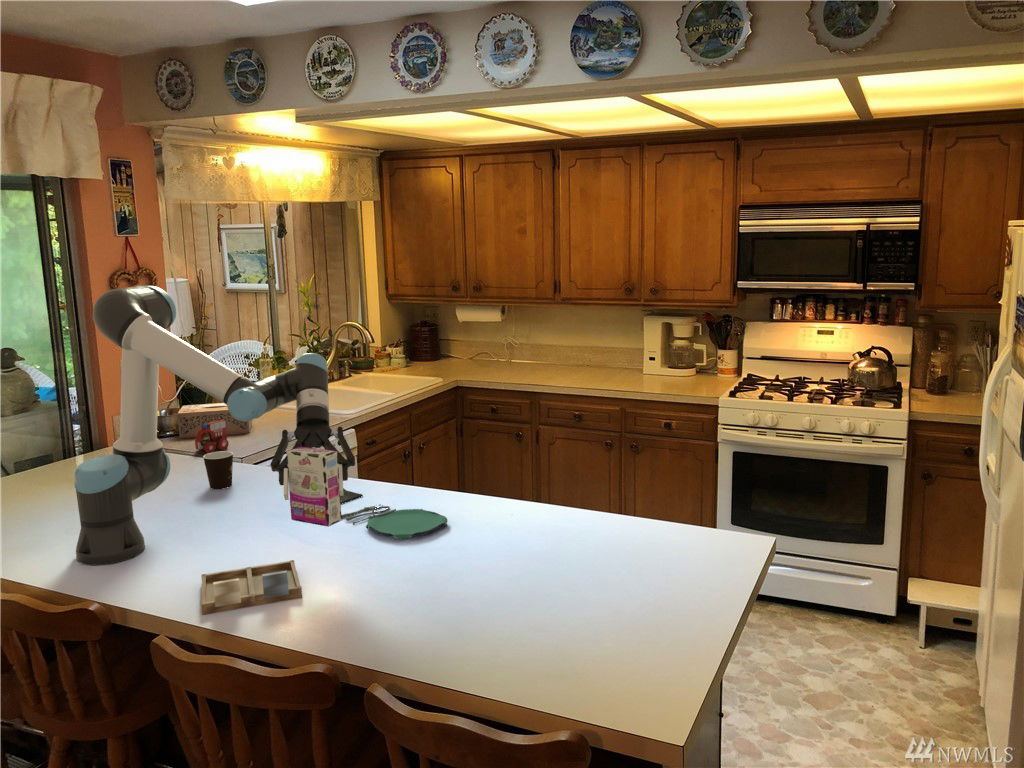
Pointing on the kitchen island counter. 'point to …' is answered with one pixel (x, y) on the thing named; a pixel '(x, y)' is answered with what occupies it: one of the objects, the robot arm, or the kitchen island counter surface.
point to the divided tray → (249, 587)
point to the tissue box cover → (208, 419)
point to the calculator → (349, 496)
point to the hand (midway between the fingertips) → (313, 495)
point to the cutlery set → (400, 521)
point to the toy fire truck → (212, 436)
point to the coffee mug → (219, 469)
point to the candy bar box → (314, 486)
